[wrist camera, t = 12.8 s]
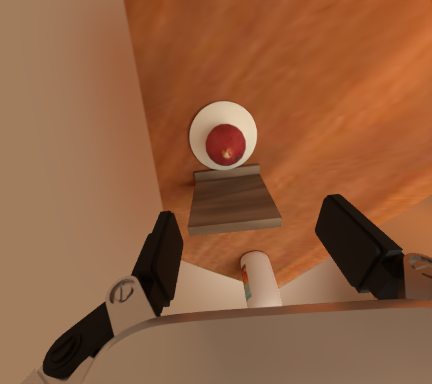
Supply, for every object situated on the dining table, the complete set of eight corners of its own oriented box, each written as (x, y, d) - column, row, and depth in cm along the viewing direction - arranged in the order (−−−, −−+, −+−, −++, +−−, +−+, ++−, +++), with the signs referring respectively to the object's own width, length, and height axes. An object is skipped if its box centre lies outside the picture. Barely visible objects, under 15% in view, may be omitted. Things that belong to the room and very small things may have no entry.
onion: (249, 137, 27) (261, 154, 21) (225, 162, 30) (228, 185, 23) (223, 111, 25) (226, 120, 18) (199, 140, 27) (194, 158, 21)
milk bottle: (248, 247, 44) (270, 349, 27) (273, 254, 45) (309, 354, 28) (235, 263, 47) (247, 362, 31) (258, 269, 49) (282, 366, 32)
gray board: (194, 171, 32) (184, 217, 21) (258, 163, 31) (283, 207, 20) (199, 193, 34) (192, 244, 23) (258, 186, 34) (279, 236, 23)
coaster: (183, 106, 26) (182, 107, 25) (255, 95, 25) (257, 96, 24) (197, 171, 32) (196, 173, 31) (255, 163, 31) (256, 166, 30)
